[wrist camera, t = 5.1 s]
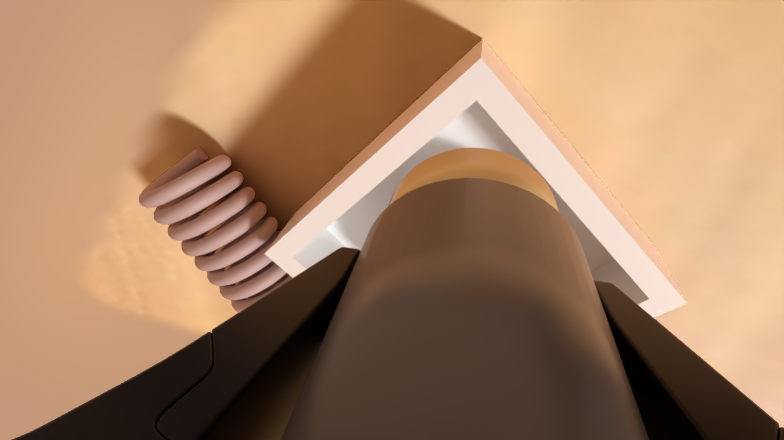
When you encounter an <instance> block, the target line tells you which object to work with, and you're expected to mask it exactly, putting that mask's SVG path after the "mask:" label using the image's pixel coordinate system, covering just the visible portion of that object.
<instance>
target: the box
mask: <svg viewBox="0 0 784 440" xmlns="http://www.w3.org/2000/svg"><path fill="white" fill-rule="evenodd" d="M459 148H486V149H492V150H496V151H500V152H503V153H507V154H509V155H511V156H514V157H516V158H518V159H519V160H521V161H523V162H525V163H526V164H528V165H529V166H530V167H531V168H533V169H534V170H535V171H536V172H537V173H538V174H539V175H540V176H541V177H542V178H543V179H544V180H545V182H546V183H547V185H548V186H549V188H550V190H551V192H552V194H553V196H554V198H555V201H556V204H557V208H558V211H559V213H560V214H561V215H562V216H563V217H564V218H565V219H566V220H567V221H568V223H569V224H570V226H571V227H572V228H573V230H574V231H575V233H576V235H577V237H578V239H579V241H580V243H581V246H582V249H583V252H584V254H585V257H586V260H587V263H588V266H589V269H590V272H591V274H592V277H593V280H598V281H606V282H611V283H613V284H614V285H615V286H616V287H618V288H619V289H620V290H621V291H622V292H623V293H625V294H626V295H627V296H628V297H629V298H631V299H632V300H633V301H634V302H635V303H637V304H638V305H639V306H640V307H641V308H642V309H644V310H645V311H646V312H647V313H648V314H650V315H651V316H652V317H653V318H655V317H657V316H659V315H661V314H664V313H666V312H668V311H671V310H673V309H675V308H678V307H680V306H682V305H685V304H687V302H686V301H685V299H684V297H683V295H682V293H681V292H680V290H679V288H678V286H677V285H676V283H675V281H674V279H673V278H672V276H671V274H670V272H669V271H668V269H667V267H666V265H665V264H664V262H663V260H662V258H661V256H660V255H659V253H658V251H657V249H656V248H655V246H654V245H653V244H652V243H651V242H650V240H649V239H648V238H647V237H646V236H645V234H644V233H643V232H642V231H641V230H640V228H639V227H638V226H637V225H636V223H635V222H634V221H633V220H632V219H631V217H630V216H629V215H628V214H627V213H626V211H625V210H624V209H623V208H622V207H621V205H620V204H619V203H618V202H617V200H616V199H615V198H614V197H613V196H612V194H611V193H610V192H609V191H608V190H607V188H606V187H605V186H604V185H603V184H602V182H601V181H600V180H599V179H598V177H597V176H596V175H595V174H594V173H593V171H592V170H591V169H590V168H589V167H588V165H587V164H586V163H585V162H584V161H583V159H582V158H581V157H580V156H579V154H578V153H577V152H576V151H575V150H574V148H573V147H572V146H571V145H570V144H569V142H568V141H567V140H566V139H565V138H564V136H563V135H562V134H561V133H560V131H559V130H558V129H557V128H556V127H555V125H554V124H553V123H552V122H551V121H550V119H549V118H548V117H547V116H546V114H545V113H544V112H543V111H542V110H541V108H540V107H539V106H538V105H537V104H536V102H535V101H534V100H533V99H532V98H531V96H530V95H529V94H528V93H527V91H526V90H525V89H524V88H523V87H522V85H521V84H520V83H519V82H518V81H517V79H516V78H515V77H514V76H513V75H512V73H511V72H510V71H509V70H508V68H507V67H506V66H505V65H504V64H503V62H502V61H501V60H500V59H499V58H498V56H497V55H496V54H495V53H494V52H493V50H492V49H491V48H490V47H489V45H488V44H487V43H486V42H485V41H484V39H482V40H481V41H480V42H478V43H477V44H476V45H475V46H474V47H473V48H472V49H471V50H470V51H469V52H468V53H467V54H466V55H464V56H463V57H462V58H461V59H460V60H459V61H458V62H457V63H456V64H455V65H454V66H453V67H452V68H450V69H449V70H448V71H447V72H446V73H445V74H444V75H443V76H442V77H441V78H440V79H439V80H438V81H436V82H435V83H434V84H433V85H432V86H431V87H430V88H429V89H428V90H427V91H426V92H425V93H424V94H422V95H421V96H420V97H419V98H418V99H417V100H416V101H415V102H414V103H413V104H412V105H411V106H410V107H408V108H407V109H406V110H405V111H404V112H403V113H402V114H401V115H400V116H399V117H398V118H397V119H396V120H394V121H393V122H392V123H391V124H390V125H389V126H388V127H387V128H386V129H385V130H384V131H383V132H382V133H380V134H379V135H378V136H377V137H376V138H375V139H374V140H373V141H372V142H371V143H370V144H369V145H368V146H366V147H365V148H364V149H363V150H362V151H361V152H360V153H359V154H358V155H357V156H356V157H355V158H354V159H352V160H351V161H350V162H349V163H348V164H347V165H346V166H345V167H344V168H343V169H342V170H341V171H340V172H339V173H337V174H336V175H335V176H334V177H333V178H332V179H331V180H330V181H329V182H328V183H327V184H326V185H325V186H323V187H322V188H321V189H320V190H319V191H318V192H317V193H316V194H315V195H314V196H313V197H312V198H311V199H309V200H308V201H307V202H306V203H305V204H304V205H303V206H302V207H301V208H300V209H299V210H298V211H297V212H296V213H295V214H294V215H293V217H292V218H291V219H290V221H289V222H288V223H287V224H286V226H285V227H284V228H283V230H282V231H281V232H280V234H279V235H278V236H277V238H276V239H275V240H274V242H273V243H272V244H271V246H270V247H269V248H268V250H267V251H266V252H265V253H264V254H265V255H266V256H268V257H269V258H270V259H271V260H272V261H274V262H275V263H276V264H277V265H278V266H279V267H281V268H282V269H283V270H284V271H285V272H286V273H288V274H289V275H290V276H291V277H292V278H294V277H295V276H297V275H298V274H300V273H301V272H303V271H305V270H306V269H308V268H309V267H311V266H312V265H314V264H315V263H317V262H319V261H320V260H322V259H323V258H325V257H326V256H328V255H329V254H331V253H333V252H334V251H336V250H337V249H339V248H341V247H348V248H356V249H359V250H360V251H361V249H362V247H363V244H364V242H365V240H366V237H367V235H368V233H369V230H370V229H371V227H372V225H373V224H374V222H375V220H376V219H377V218H378V217H379V216H380V214H381V213H382V212H383V211H384V210H385V209H386V208H387V207H388V206H389V205H390V202H391V200H392V197H393V195H394V193H395V190H396V189H397V187H398V185H399V184H400V182H401V181H402V179H403V178H404V177H405V176H406V175H407V174H408V173H409V172H410V171H411V170H412V169H413V168H414V167H415V166H417V165H418V164H420V163H421V162H423V161H424V160H426V159H428V158H430V157H432V156H434V155H436V154H439V153H442V152H445V151H449V150H453V149H459Z"/></svg>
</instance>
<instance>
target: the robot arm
mask: <svg viewBox="0 0 784 440" xmlns="http://www.w3.org/2000/svg"><path fill="white" fill-rule="evenodd" d="M359 254H360V250H359V249H356V248H348V247H341V248H339V249H337V250H336V251H334V252H333V253H331V254H329V255H328V256H326V257H325V258H323V259H322V260H320V261H319V262H317V263H315V264H314V265H312V266H311V267H309V268H308V269H306V270H305V271H303V272H301V273H300V274H298V275H297V276H295V277H294V278H292V279H291V280H289V281H287V282H286V283H284V284H283V285H281V286H280V287H278V288H276V289H275V290H273V291H272V292H270V293H269V294H267V295H266V296H264V297H262V298H261V299H259V300H258V301H256V302H255V303H253V304H252V305H250V306H248V307H247V308H245V309H244V310H242V311H241V312H239V313H238V314H236V315H234V316H233V317H231V318H230V319H228V320H227V321H225V322H224V323H222V324H220V325H219V326H217V327H216V328H214V329H213V330H212V333H211V332H208V333H206V334H205V335H203V336H202V337H200V338H198V339H197V340H195V341H194V342H192V343H191V344H189V345H187V346H186V347H184V348H182V349H181V350H179V351H178V352H176V353H174V354H173V355H171V356H169V357H168V358H166V359H165V360H163V361H161V362H159V363H157V364H156V365H154V366H152V367H150V368H149V369H147V370H145V371H143V372H141V373H140V374H138V375H136V376H134V377H133V378H131V379H129V380H127V381H125V382H124V383H121V384H120V385H118V386H116V387H114V388H112V389H110V390H108V391H107V392H105V393H103V394H101V395H100V396H97V397H95V398H94V399H92V400H90V401H88V402H86V403H84V404H83V405H81V406H79V407H77V408H75V409H73V410H71V411H69V412H68V413H66V414H64V415H62V416H60V417H58V418H56V419H55V420H53V421H51V422H49V423H47V424H45V425H43V426H41V427H39V428H37V429H35V430H33V431H31V432H29V433H27V434H25V435H22V436H20V437H17V438H15V439H12V440H281V438H282V436H283V434H284V431H285V429H286V426H287V424H288V422H289V419H290V417H291V415H292V412H293V410H294V408H295V405H296V403H297V400H298V398H299V396H300V393H301V391H302V389H303V386H304V384H305V382H306V379H307V377H308V374H309V372H310V370H311V367H312V365H313V363H314V360H315V358H316V356H317V353H318V351H319V348H320V346H321V344H322V341H323V339H324V337H325V334H326V332H327V329H328V327H329V325H330V322H331V320H332V318H333V315H334V313H335V311H336V308H337V306H338V303H339V301H340V299H341V296H342V294H343V292H344V289H345V287H346V285H347V282H348V280H349V277H350V275H351V273H352V270H353V268H354V266H355V263H356V261H357V259H358V256H359ZM594 283H595V286H596V289H597V292H598V295H599V297H600V300H601V303H602V306H603V309H604V312H605V315H606V317H607V320H608V323H609V326H610V329H611V332H612V335H613V337H614V340H615V343H616V346H617V349H618V352H619V355H620V358H621V360H622V363H623V366H624V369H625V372H626V375H627V378H628V380H629V383H630V386H631V389H632V392H633V395H634V398H635V400H636V403H637V406H638V409H639V412H640V415H641V418H642V421H643V423H644V426H645V429H646V432H647V435H648V438H649V440H784V428H783V427H780V428H779V424H778V422H776V421H775V420H774V419H773V418H772V417H771V416H769V415H768V414H767V413H766V412H765V411H763V410H762V409H761V408H760V407H759V406H757V405H756V404H755V403H754V402H753V401H752V400H750V399H749V398H748V397H747V396H746V395H744V394H743V393H742V392H741V391H740V390H738V389H737V388H736V387H735V386H734V385H733V384H731V383H730V382H729V381H728V380H727V379H725V378H724V377H723V376H722V375H721V374H720V373H718V372H717V371H716V370H715V369H714V368H712V367H711V366H710V365H709V364H708V363H706V362H705V361H704V360H703V359H702V358H701V357H699V356H698V355H697V354H696V353H695V352H693V351H692V350H691V349H690V348H689V347H688V346H686V345H685V344H684V343H683V342H682V341H680V340H679V339H678V338H677V337H676V336H674V335H673V334H672V333H671V332H670V331H669V330H667V329H666V328H665V327H664V326H663V325H661V324H660V323H659V322H658V321H657V320H655V319H654V318H653V317H652V316H651V315H650V314H648V313H647V312H646V311H645V310H644V309H642V308H641V307H640V306H639V305H638V304H637V303H635V302H634V301H633V300H632V299H631V298H629V297H628V296H627V295H626V294H625V293H623V292H622V291H621V290H620V289H619V288H618V287H616V286H615V285H614V284H613V283H611V282H606V281H598V280H594Z"/></svg>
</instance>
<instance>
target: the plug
mask: <svg viewBox="0 0 784 440" xmlns="http://www.w3.org/2000/svg"><path fill="white" fill-rule="evenodd" d="M281 440H649V438H648V435H647V432H646V429H645V426H644V423H643V421H642V418H641V415H640V412H639V409H638V406H637V403H636V400H635V398H634V395H633V392H632V389H631V386H630V383H629V380H628V378H627V375H626V372H625V369H624V366H623V363H622V360H621V358H620V355H619V352H618V349H617V346H616V343H615V340H614V337H613V335H612V332H611V329H610V326H609V323H608V320H607V317H606V315H605V312H604V309H603V306H602V303H601V300H600V297H599V295H598V292H597V289H596V286H595V283H594V280H593V277H592V274H591V272H590V269H589V266H588V263H587V260H586V257H585V254H584V252H583V249H582V246H581V243H580V241H579V239H578V237H577V235H576V233H575V231H574V230H573V228H572V227H571V226H570V224H569V223H568V221H567V220H566V219H565V218H564V217H563V216H562V215H561V214H560V213H559V211H558V208H557V204H556V201H555V198H554V196H553V194H552V192H551V190H550V188H549V186H548V185H547V183H546V182H545V180H544V179H543V178H542V177H541V176H540V175H539V174H538V173H537V172H536V171H535V170H534V169H533V168H531V167H530V166H529V165H528V164H526V163H525V162H523V161H521V160H519V159H518V158H516V157H514V156H511V155H509V154H507V153H503V152H500V151H496V150H492V149H486V148H459V149H453V150H449V151H445V152H442V153H439V154H436V155H434V156H432V157H430V158H428V159H426V160H424V161H423V162H421V163H420V164H418V165H417V166H415V167H414V168H413V169H412V170H411V171H410V172H409V173H408V174H407V175H406V176H405V177H404V178H403V179H402V181H401V182H400V184H399V185H398V187H397V189H396V190H395V193H394V195H393V197H392V200H391V202H390V205H389V206H388V207H387V208H386V209H385V210H384V211H383V212H382V213H381V214H380V216H379V217H378V218H377V219H376V220H375V222H374V224H373V225H372V227H371V229H370V230H369V233H368V235H367V237H366V240H365V242H364V244H363V247H362V249H361V251H360V254H359V256H358V259H357V261H356V263H355V266H354V268H353V270H352V273H351V275H350V277H349V280H348V282H347V285H346V287H345V289H344V292H343V294H342V296H341V299H340V301H339V303H338V306H337V308H336V311H335V313H334V315H333V318H332V320H331V322H330V325H329V327H328V329H327V332H326V334H325V337H324V339H323V341H322V344H321V346H320V348H319V351H318V353H317V356H316V358H315V360H314V363H313V365H312V367H311V370H310V372H309V374H308V377H307V379H306V382H305V384H304V386H303V389H302V391H301V393H300V396H299V398H298V400H297V403H296V405H295V408H294V410H293V412H292V415H291V417H290V419H289V422H288V424H287V426H286V429H285V431H284V434H283V436H282V438H281Z"/></svg>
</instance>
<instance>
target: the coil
mask: <svg viewBox="0 0 784 440" xmlns="http://www.w3.org/2000/svg"><path fill="white" fill-rule="evenodd" d="M208 158H209V157H208V156H207V155H206V153H205V152H204V151H203V150H202V149H201V148H200V147H197V148H196V149H194V150H193V151H192V152H191V153H189V154H188V155H187V156H185V157H184V158H183V159H182V160H180V161H179V162H178V163H176V164H175V165H174V166H172V167H171V168H170V169H169V170H167V171H166V172H165V173H163V174H162V175H161V176H160V177H158V178H157V179H156V180H155V181H153V182H152V183H151V184H150V185H149V186H148V187H146V188H145V189H144V190H143V191H142V193H141V195H140V196H139V202H140V203H141V205H142V206H144V207H147V208H153V207H157V208H156V210H155V212H154V219H155V220H156V222H158V223H160V224H170V225H169V227H168V235H169V236H170V237H171V238H172V239H174V240H177V241H180V240H183V241H182V244H181V246H182V251H183V252H184V253H185V254H186V255H189V256H195V265H196V266H197V268H198V269H200V270H202V271H207V277H208V280H209V281H210V282H211V283H212V284H214V285H217V286H220V293H221V294H222V296H223V297H224V298H226V299H229V300H231V303H232V306H233V308H234V309H235V310H236V311H237V312H241V311H242V310H244V309H245V308H247V307H248V306H250V305H252V304H253V303H255V302H256V301H258V300H259V299H261V298H262V297H264V296H266V295H267V294H269V293H270V292H272V291H273V290H275V289H276V288H278V287H280V286H281V285H283V284H284V283H286V282H287V281H289V280H291V279H292V277H291V276H290V275H289V274H288V273H286V272H285V271H284V270H283V269H282V268H281V267H279V266H278V265H277V264H276V263H275V262H274V261H272V260H271V259H270V258H269V257H268V256H266V255H265V254H264V253H265V252H266V251H267V250H268V248H269V247H270V246H271V244H272V243H273V242H274V240H275V239H276V238H277V236H278V235H279V234H280V232H281V231H276V230H277V228H278V222H277V220H276V219H275V218H274V217H265V218H263V217H264V215H265V214H266V212H267V207H266V205H265V204H264V203H262V202H255V203H253V204H251V205H249V206H247V205H248V204H249V203H251V202H252V200H253V199H254V198H255V191H254V189H252V188H251V187H244V188H242V189H240V190H238V191H236V192H235V193H233V194H232V195H230V196H229V197H228V198H226V199H225V200H224V201H222V202H221V203H220V204H218V205H217V206H216V207H214V208H213V209H212V210H210V211H208V212H206V213H205V214H203V215H201V216H199V215H200V214H201V213H202V212H203V211H204V210H206V209H207V208H208V207H209V206H210V205H212V204H213V203H214V202H216V201H217V200H219V199H221V198H222V197H224V196H225V195H227V194H228V193H230V192H231V191H233V190H234V189H236V188H237V187H238V186H240V185H241V183H242V182H243V175H242V174H241V173H240V172H238V171H233V172H230V173H229V174H227V175H226V176H224V177H223V178H221V179H220V180H218V181H216V182H215V183H213V184H211V185H210V186H208V187H206V188H204V189H203V190H201V191H199V190H200V189H201V188H203V187H204V186H205V185H206V184H208V183H209V182H210V181H212V180H213V179H214V178H216V177H217V176H219V175H220V174H221V173H223V172H224V171H225V170H227V169H228V168H229V167H230V166H231V160H230V158H229V157H228V156H226V155H219V156H217V157H215V158H213V159H211V160H209V161H207V162H205V163H203V162H204V161H206V160H207V159H208ZM202 163H203V164H202ZM200 164H202V165H200ZM199 165H200V166H199ZM197 191H199V192H197ZM196 192H197V193H196ZM195 193H196V194H195ZM246 206H247V207H246ZM245 207H246V208H245ZM243 208H244V209H243ZM236 213H237V214H236ZM233 215H234V216H233ZM198 216H199V217H198ZM232 216H233V217H232ZM230 217H231V218H230ZM229 218H230V219H229ZM227 219H229V220H227ZM226 220H227V221H226ZM224 221H226V222H225V223H224V224H222V225H221V226H220V227H219V228H218V229H217V230H216V231H215V232H213V233H212V234H210V235H208V236H206V237H204V236H205V235H206V234H207V233H208V232H209V231H210V230H211V229H212V228H214V227H216V226H217V225H219V224H221V223H222V222H224ZM226 244H227V245H226ZM224 245H226V246H225V247H224V248H223V249H222V250H221V251H220V252H219V253H216V254H214V252H215V251H216V250H217V249H218V248H220V247H222V246H224ZM213 254H214V255H213ZM230 264H232V265H231V266H230V267H229V268H228V269H227V270H224V269H225V267H226V266H228V265H230ZM288 275H289V276H288ZM287 276H288V277H287ZM285 277H287V278H286V279H284V278H285ZM282 279H284V280H283V281H282V282H281V283H279V284H278V285H277V286H275V285H276V284H277V283H278V282H280V281H281V280H282ZM239 281H240V282H239ZM236 282H239V283H238V284H237V285H235V283H236ZM274 286H275V287H274ZM273 287H274V288H273ZM247 297H248V298H247ZM246 298H247V299H246Z"/></svg>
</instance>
